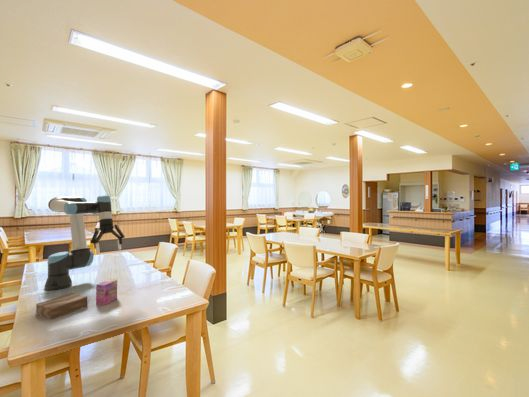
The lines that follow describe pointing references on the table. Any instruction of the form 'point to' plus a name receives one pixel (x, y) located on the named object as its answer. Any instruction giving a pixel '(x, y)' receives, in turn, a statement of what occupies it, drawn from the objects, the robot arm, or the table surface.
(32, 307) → the table surface
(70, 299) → the block
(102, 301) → the box
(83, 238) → the robot arm
